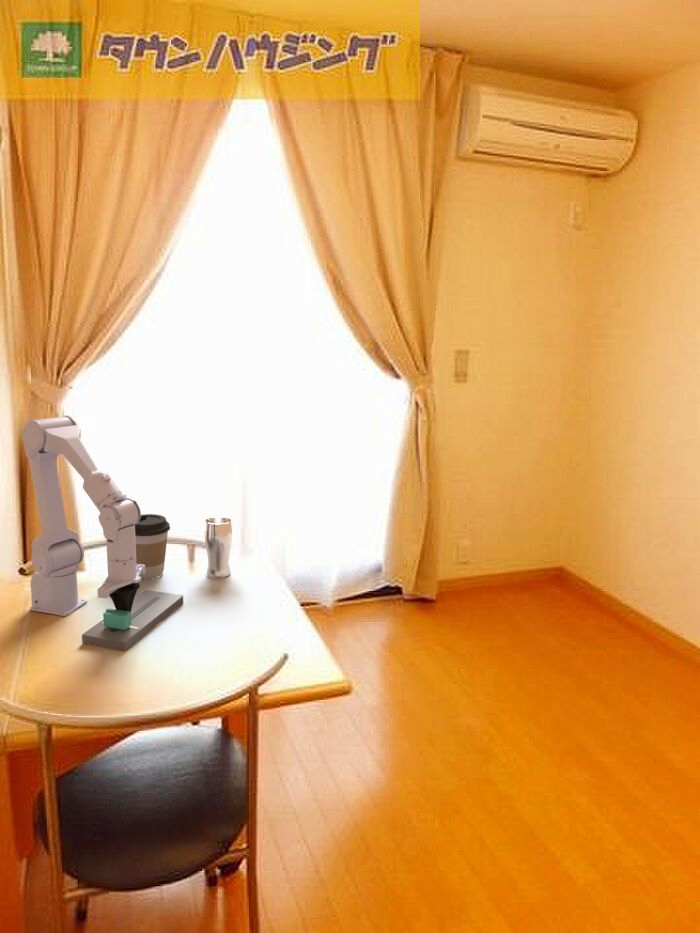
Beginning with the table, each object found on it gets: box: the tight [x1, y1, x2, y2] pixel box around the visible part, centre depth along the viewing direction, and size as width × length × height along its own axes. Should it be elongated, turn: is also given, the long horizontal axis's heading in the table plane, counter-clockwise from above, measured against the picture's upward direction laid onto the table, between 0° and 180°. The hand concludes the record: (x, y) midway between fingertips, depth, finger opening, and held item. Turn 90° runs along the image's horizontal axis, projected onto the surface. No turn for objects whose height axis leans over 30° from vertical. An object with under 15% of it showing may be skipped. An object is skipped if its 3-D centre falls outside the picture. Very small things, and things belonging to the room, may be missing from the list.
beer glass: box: [204, 515, 233, 579], centre depth 172 cm, size 7×7×15 cm
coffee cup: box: [135, 513, 171, 580], centre depth 170 cm, size 11×11×15 cm
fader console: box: [81, 589, 184, 652], centre depth 145 cm, size 10×24×2 cm, turn 166°
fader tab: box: [102, 608, 131, 630], centre depth 138 cm, size 5×2×3 cm, turn 76°
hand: (124, 616), depth 140 cm, fingers closed
